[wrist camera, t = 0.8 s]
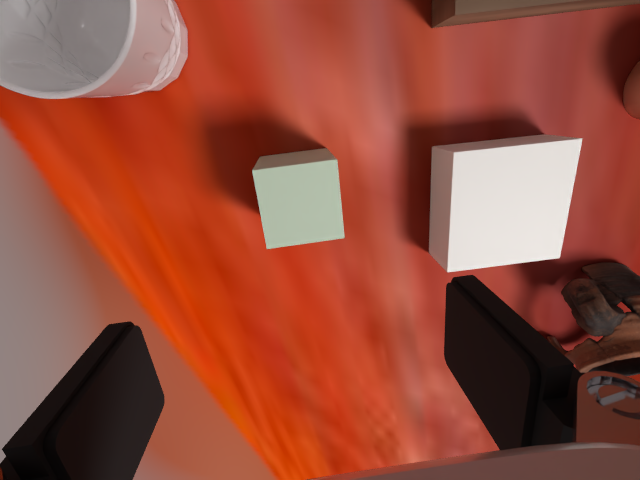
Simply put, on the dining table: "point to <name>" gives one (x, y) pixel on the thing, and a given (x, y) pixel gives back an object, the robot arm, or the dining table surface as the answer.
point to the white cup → (90, 47)
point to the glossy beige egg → (632, 92)
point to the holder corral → (509, 9)
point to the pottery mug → (605, 319)
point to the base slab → (501, 200)
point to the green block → (299, 197)
